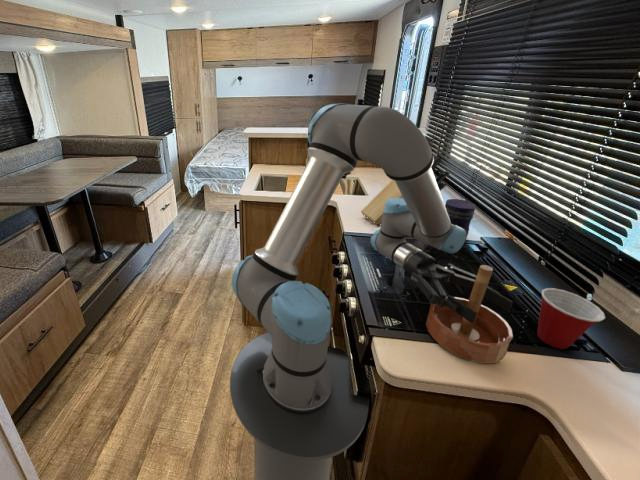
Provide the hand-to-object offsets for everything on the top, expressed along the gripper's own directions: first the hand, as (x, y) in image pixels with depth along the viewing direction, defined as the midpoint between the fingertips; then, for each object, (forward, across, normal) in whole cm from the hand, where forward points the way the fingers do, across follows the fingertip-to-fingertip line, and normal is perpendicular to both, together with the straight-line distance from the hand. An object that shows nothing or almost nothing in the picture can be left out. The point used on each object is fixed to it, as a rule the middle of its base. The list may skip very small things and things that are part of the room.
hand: (492, 312), depth 70 cm
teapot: (-44, -21, -12) cm, 50 cm away
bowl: (-4, 0, -12) cm, 12 cm away
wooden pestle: (-4, 0, -11) cm, 11 cm away
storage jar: (-44, -44, -12) cm, 63 cm away
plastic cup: (+4, -20, -12) cm, 24 cm away
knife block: (-66, -39, -12) cm, 78 cm away
